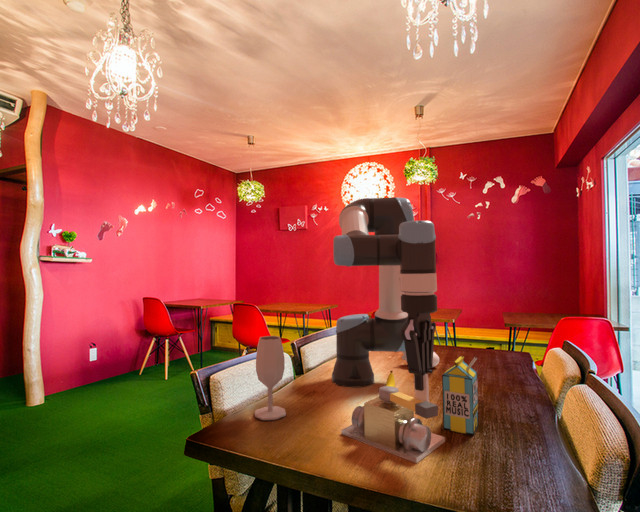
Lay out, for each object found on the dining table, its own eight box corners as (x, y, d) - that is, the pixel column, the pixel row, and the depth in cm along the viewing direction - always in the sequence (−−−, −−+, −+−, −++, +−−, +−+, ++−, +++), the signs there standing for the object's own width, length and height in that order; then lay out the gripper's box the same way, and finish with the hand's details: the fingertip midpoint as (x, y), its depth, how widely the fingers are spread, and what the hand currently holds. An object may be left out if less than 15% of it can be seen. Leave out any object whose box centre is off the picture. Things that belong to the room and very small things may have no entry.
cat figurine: (440, 344, 150) (403, 338, 154) (440, 358, 143) (401, 351, 147) (438, 361, 154) (402, 355, 159) (438, 375, 148) (399, 368, 152)
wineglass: (259, 424, 95) (259, 341, 96) (250, 412, 103) (250, 336, 104) (291, 417, 99) (290, 338, 100) (279, 407, 107) (279, 334, 108)
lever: (375, 397, 85) (375, 388, 85) (389, 393, 87) (389, 385, 87) (424, 419, 72) (424, 409, 72) (440, 414, 74) (439, 404, 74)
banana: (378, 410, 104) (378, 387, 104) (387, 389, 122) (387, 370, 122) (389, 411, 103) (388, 388, 103) (396, 390, 121) (396, 370, 121)
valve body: (341, 434, 89) (340, 393, 89) (372, 418, 98) (372, 381, 98) (416, 463, 75) (415, 414, 75) (445, 441, 84) (444, 398, 85)
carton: (477, 437, 86) (475, 359, 87) (443, 430, 90) (441, 355, 91) (482, 426, 92) (480, 353, 93) (450, 419, 97) (448, 350, 97)
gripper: (414, 290, 86) (417, 392, 86) (388, 295, 76) (392, 410, 76) (446, 291, 82) (449, 398, 81) (423, 296, 72) (427, 418, 71)
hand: (421, 404), depth 78 cm, fingers closed
